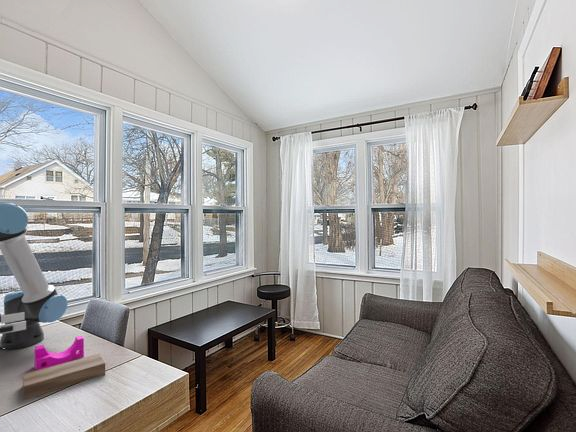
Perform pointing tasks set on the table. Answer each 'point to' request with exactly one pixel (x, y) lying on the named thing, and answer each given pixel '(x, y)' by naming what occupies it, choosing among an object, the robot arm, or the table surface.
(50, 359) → the toy block
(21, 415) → the table surface
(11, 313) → the robot arm
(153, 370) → the table surface
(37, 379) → the base brick
